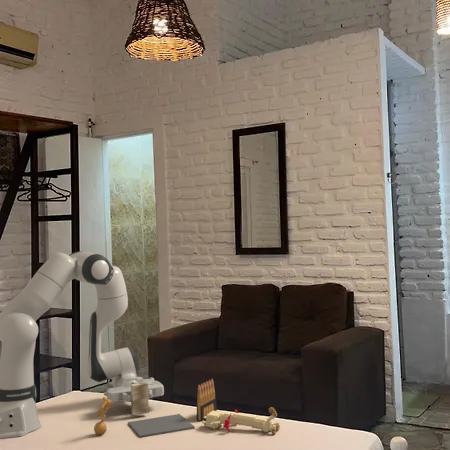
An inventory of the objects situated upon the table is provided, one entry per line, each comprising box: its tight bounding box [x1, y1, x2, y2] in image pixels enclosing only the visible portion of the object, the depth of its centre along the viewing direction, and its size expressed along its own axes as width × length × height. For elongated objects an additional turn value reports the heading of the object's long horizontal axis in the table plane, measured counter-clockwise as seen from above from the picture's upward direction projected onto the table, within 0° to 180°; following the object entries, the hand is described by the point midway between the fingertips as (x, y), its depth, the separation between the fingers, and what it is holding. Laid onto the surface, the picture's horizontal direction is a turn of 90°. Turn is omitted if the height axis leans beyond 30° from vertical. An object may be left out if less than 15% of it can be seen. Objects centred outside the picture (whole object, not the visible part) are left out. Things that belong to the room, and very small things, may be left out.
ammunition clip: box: [196, 378, 218, 422], centre depth 209 cm, size 11×2×12 cm, turn 152°
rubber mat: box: [127, 413, 196, 438], centre depth 201 cm, size 18×16×1 cm
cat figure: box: [201, 406, 281, 435], centre depth 194 cm, size 10×9×25 cm
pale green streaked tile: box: [130, 382, 150, 416], centre depth 213 cm, size 6×2×10 cm, turn 112°
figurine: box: [93, 396, 113, 436], centre depth 195 cm, size 8×6×12 cm
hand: (140, 397), depth 212 cm, fingers closed on pale green streaked tile, 5 cm apart
